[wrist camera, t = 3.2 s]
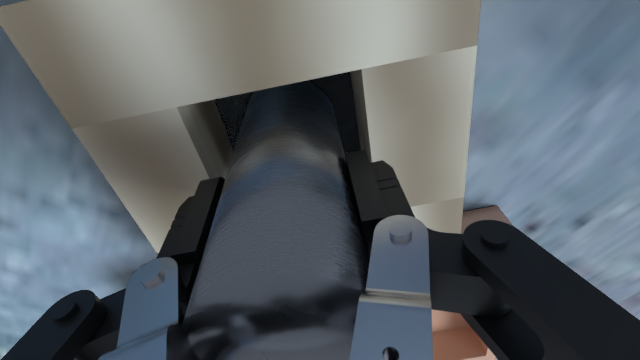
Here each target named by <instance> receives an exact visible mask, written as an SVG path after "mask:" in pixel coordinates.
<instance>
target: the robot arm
mask: <svg viewBox="0 0 640 360" xmlns="http://www.w3.org/2000/svg"><path fill="white" fill-rule="evenodd" d="M345 159H346V164H347V169H348V173H349V177H350V181H351V185H352V189H353V193H354V198H355V202H356V206H357V210H358V214H359V218H360V223H361V227H362V231H363V235H364V239H365V241H366V243H367V247H368V251H369V255H370V263H369V270H368V277H367V284H366V290H365V292H362V293H361V295H360V297H359V302H358V308H357V314H356V321H355V327H354V333H353V340H352V346H351V353H350V359H349V360H433V340H432V310H439V311H446V312H453V313H460V314H461V315H462V317H463V318H464V319H465V320H466V322H467V323H468V324H469V325H470V326H471V328H472V329H473V330H474V331H475V332H476V334H477V335H478V336H479V337H480V338H481V340H482V341H483V342H484V343H485V345H486V346H487V347H488V348H489V349H490V351H491V352H492V353H493V354H494V355H495V357H496V358H497V359H498V360H640V320H638V319H637V318H636V317H634V316H633V315H632V314H630V313H629V312H628V311H626V310H625V309H624V308H622V307H621V306H620V305H618V304H617V303H616V302H614V301H613V300H612V299H610V298H609V297H608V296H606V295H605V294H604V293H602V292H601V291H600V290H598V289H597V288H596V287H594V286H593V285H592V284H590V283H589V282H588V281H586V280H585V279H584V278H582V277H581V276H580V275H578V274H577V273H576V272H574V271H573V270H572V269H570V268H569V267H568V266H566V265H565V264H564V263H562V262H561V261H560V260H558V259H557V258H556V257H554V256H553V255H552V254H550V253H549V252H547V251H546V250H545V249H543V248H542V247H541V246H539V245H538V244H537V243H535V242H534V241H533V240H531V239H530V238H529V237H527V236H526V235H525V234H523V233H522V232H521V231H519V230H518V229H517V228H515V227H514V226H512V225H510V224H507V223H505V222H501V221H497V220H480V221H476V222H474V223H472V224H470V225H469V226H467V227H466V229H465V230H464V232H463V234H457V233H444V232H438V231H434V230H431V229H429V228H427V227H426V226H425V225H424V224H423V223H422V222H421V221H420V220H418V219H416V218H415V216H414V214H413V212H412V209H411V207H410V205H409V203H408V200H407V198H406V196H405V194H404V192H403V189H402V187H401V185H400V183H399V180H398V179H397V176H396V174H395V171H394V169H393V167H391V166H390V165H389V164H387V163H386V162H385V161H383V160H382V161H376V162H371V163H370V161H369V158H368V155H367V152H366V150H365V149H364V150H358V151H353V152H348V153H345ZM224 182H225V179H224V178H223V177H217V178H211V179H206V180H201V181H200V182H199V185H198V187H197V190H196V192H195V195H194V196H191V197H188V198H187V199H186V200H185V202H184V203H183V204H182V205H181V206H180V207H179V209H178V211H177V213H176V215H175V218H174V219H175V220H173V222H172V224H171V229H169V231H168V233H167V236H166V238H165V240H164V242H163V245H162V247H161V249H160V252H159V254H158V256H157V258H156V259H154V260H152V261H149V262H148V263H146V264H144V265H143V266H141V267H140V268H139V269H138V270H137V271H136V272H135V273H134V274H133V275H132V276H131V277H130V279H129V281H128V283H127V286H126V288H125V289H123V290H121V291H118V292H116V293H114V294H111V295H109V296H107V297H104V298H102V299H99V298H98V297H97V296H96V295H95V294H94V293H93V292H92V291H89V290H80V291H76V292H73V293H71V294H69V295H67V296H65V297H63V298H62V299H60V300H59V301H57V302H56V303H55V304H54V305H52V306H51V307H50V308H49V309H48V310H47V311H46V312H45V313H44V314H43V316H42V317H41V318H40V319H39V320H38V321H37V322H36V323H35V324H34V325H33V326H32V327H31V328H30V329H29V330H28V331H27V332H26V334H25V335H24V336H23V337H22V338H21V339H20V340H19V341H18V342H17V343H16V344H15V345H14V346H13V347H12V348H11V349H10V350H9V352H8V353H7V354H6V355H5V356H4V357H3V358H2V359H1V360H201V359H200V358H199V357H198V355H197V354H196V353H195V352H194V350H193V349H192V347H191V344H190V342H189V338H188V335H187V334H186V332H185V331H184V330H183V328H182V323H183V320H184V317H185V313H186V310H187V307H188V303H189V300H190V297H191V293H192V290H193V286H194V283H195V280H196V276H197V273H198V270H199V266H200V263H201V259H202V256H203V253H204V249H205V246H206V243H207V239H208V236H209V233H210V229H211V226H212V222H213V219H214V216H215V212H216V209H217V206H218V202H219V199H220V196H221V192H222V189H223V185H224ZM431 309H432V310H431Z"/></svg>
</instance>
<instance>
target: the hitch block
mask: <svg viewBox="0 0 640 360" xmlns="http://www.w3.org/2000/svg"><path fill="white" fill-rule="evenodd" d="M480 8H481V0H26V1H22V2H17V3H13V4H9V5H4V6H0V26H1V27H2V29H3V30H4V32H5V33H6V34H7V36H8V37H9V39H10V40H11V42H12V43H13V45H14V46H15V47H16V49H17V50H18V52H19V53H20V55H21V56H22V58H23V59H24V61H25V62H26V63H27V65H28V66H29V68H30V69H31V71H32V72H33V74H34V75H35V77H36V78H37V79H38V81H39V82H40V84H41V85H42V87H43V88H44V90H45V91H46V92H47V94H48V95H49V97H50V98H51V100H52V101H53V103H54V104H55V106H56V107H57V108H58V110H59V111H60V113H61V114H62V116H63V117H64V119H65V120H66V121H67V123H68V124H69V126H70V127H71V129H72V130H73V132H74V133H75V135H76V136H77V137H78V139H79V140H80V142H81V143H82V145H83V146H84V148H85V149H86V151H87V152H88V153H89V155H90V156H91V158H92V159H93V161H94V162H95V164H96V165H97V166H98V168H99V169H100V171H101V172H102V174H103V175H104V177H105V178H106V180H107V181H108V182H109V184H110V185H111V187H112V188H113V190H114V191H115V193H116V194H117V195H118V197H119V198H120V200H121V201H122V203H123V204H124V206H125V207H126V209H127V210H128V211H129V213H130V214H131V216H132V217H133V219H134V220H135V222H136V223H137V225H138V226H139V227H140V229H141V230H142V232H143V233H144V235H145V236H146V238H147V239H148V240H149V242H150V243H151V245H152V246H153V248H154V249H155V251H156V252H157V254H159V252H160V249H161V247H162V245H163V242H164V240H165V238H166V236H167V233H168V231H169V229H171V224H172V222H173V220H175V219H174V218H175V215H176V213H177V211H178V209H179V207H180V206H181V205H182V204H183V203H184V202H185V200H186V199H187V198H188V197H191V196H194V195H195V192H196V190H197V187H198V185H199V182H200V181H201V180H206V179H211V178H217V177H223V178H224V179H226V175H227V172H228V169H229V165H230V162H231V158H232V155H233V152H234V150H233V148H232V145H231V143H230V140H229V137H228V135H227V132H226V130H225V127H224V125H223V122H222V119H221V117H220V114H219V112H218V109H217V107H216V104H215V102H214V99H219V98H224V97H229V96H234V95H238V94H243V93H248V92H253V91H258V90H263V89H268V88H273V87H277V86H282V85H287V84H292V83H297V82H302V81H307V80H311V79H316V78H321V77H326V76H331V75H336V74H341V73H346V72H350V74H351V82H352V89H353V97H354V105H355V112H356V120H357V127H358V135H359V143H360V150H364V149H365V150H366V152H367V155H368V158H369V161H370V163H371V162H376V161H382V160H383V161H385V162H386V163H387V164H389V165H390V166H391V167H393V169H394V171H395V174H396V176H397V179H398V180H399V183H400V185H401V187H402V189H403V192H404V194H405V196H406V198H407V200H408V203H409V205H410V207H411V209H412V212H413V214H414V216H415V218H416V219H418V220H420V221H421V222H422V223H423V224H424V225H425V226H426V227H427V228H429V229H431V230H434V231H438V232H444V233H457V234H461V226H462V214H463V203H464V191H465V180H466V168H467V157H468V146H469V134H470V123H471V111H472V100H473V88H474V77H475V65H476V54H477V43H478V31H479V20H480Z"/></svg>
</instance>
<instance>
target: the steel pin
mask: <svg viewBox="0 0 640 360" xmlns="http://www.w3.org/2000/svg"><path fill="white" fill-rule="evenodd" d="M369 263H370V255H369V251H368V247H367V243H366V241H365V239H364V235H363V231H362V227H361V223H360V218H359V214H358V210H357V206H356V202H355V198H354V193H353V189H352V185H351V181H350V177H349V173H348V169H347V164H346V159H345V153H344V149H343V145H342V141H341V137H340V133H339V129H338V125H337V121H336V116H335V112H334V108H333V106H332V103H331V102H330V100H329V98H328V97H327V95H326V94H325V93H324V92H323V91H322V90H321V89H320V88H318V87H317V86H316V85H314V84H312V83H310V82H308V81H302V82H297V83H292V84H287V85H282V86H277V87H273V88H268V89H263V90H258V91H256V92H255V93H254V94H253V96H252V97H251V99H250V101H249V103H248V105H247V108H246V111H245V115H244V118H243V121H242V125H241V128H240V132H239V135H238V138H237V142H236V145H235V148H234V152H233V155H232V158H231V162H230V165H229V169H228V172H227V175H226V179H225V182H224V185H223V189H222V192H221V196H220V199H219V202H218V206H217V209H216V212H215V216H214V219H213V222H212V226H211V229H210V233H209V236H208V239H207V243H206V246H205V249H204V253H203V256H202V259H201V263H200V266H199V270H198V273H197V276H196V280H195V283H194V286H193V290H192V293H191V297H190V300H189V303H188V307H187V310H186V313H185V317H184V320H183V323H182V328H183V330H184V331H185V332H186V334H187V335H188V338H189V342H190V344H191V347H192V349H193V350H194V352H195V353H196V354H197V355H198V357H199V358H200V359H201V360H349V359H350V353H351V346H352V340H353V333H354V327H355V321H356V314H357V308H358V302H359V297H360V295H361V293H362V292H365V290H366V284H367V277H368V270H369Z"/></svg>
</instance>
